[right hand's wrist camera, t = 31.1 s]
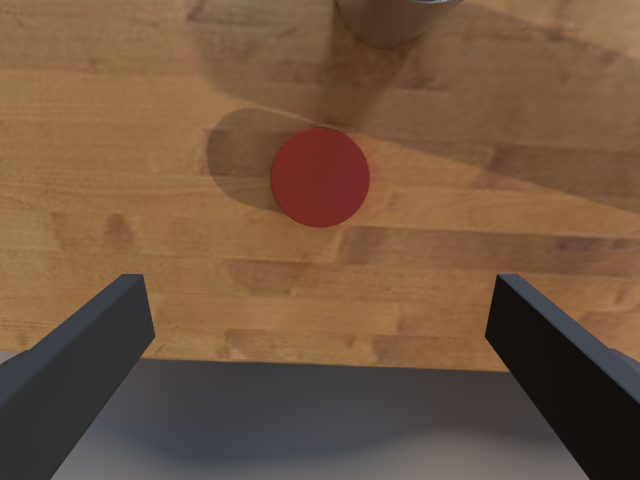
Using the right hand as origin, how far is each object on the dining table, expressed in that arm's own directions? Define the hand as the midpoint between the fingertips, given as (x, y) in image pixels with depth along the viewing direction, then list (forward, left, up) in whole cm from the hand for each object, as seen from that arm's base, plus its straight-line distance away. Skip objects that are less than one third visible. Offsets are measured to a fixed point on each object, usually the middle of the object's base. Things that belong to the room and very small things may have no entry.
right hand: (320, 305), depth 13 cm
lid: (0, 0, -26) cm, 26 cm away
